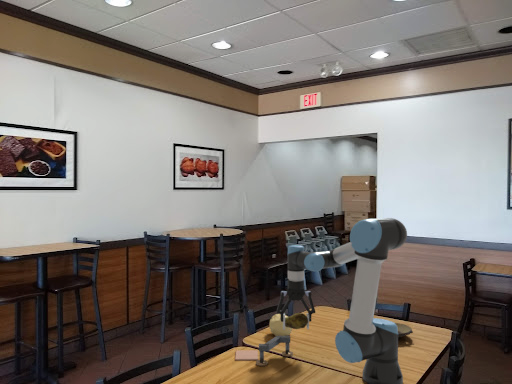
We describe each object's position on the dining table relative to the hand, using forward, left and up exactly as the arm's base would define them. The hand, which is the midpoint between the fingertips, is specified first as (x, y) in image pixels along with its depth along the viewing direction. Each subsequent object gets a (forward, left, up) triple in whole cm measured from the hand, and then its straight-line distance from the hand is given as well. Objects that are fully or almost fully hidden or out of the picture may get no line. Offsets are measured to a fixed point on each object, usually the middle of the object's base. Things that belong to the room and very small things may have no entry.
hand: (295, 328), depth 188 cm
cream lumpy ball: (+27, +5, -12) cm, 30 cm away
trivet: (-1, +22, -12) cm, 25 cm away
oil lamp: (+26, -49, -12) cm, 57 cm away
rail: (-5, +10, -12) cm, 16 cm away
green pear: (0, 0, -1) cm, 1 cm away
